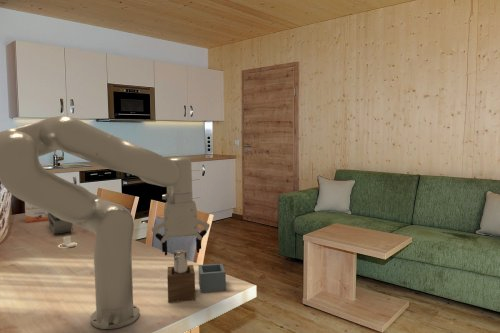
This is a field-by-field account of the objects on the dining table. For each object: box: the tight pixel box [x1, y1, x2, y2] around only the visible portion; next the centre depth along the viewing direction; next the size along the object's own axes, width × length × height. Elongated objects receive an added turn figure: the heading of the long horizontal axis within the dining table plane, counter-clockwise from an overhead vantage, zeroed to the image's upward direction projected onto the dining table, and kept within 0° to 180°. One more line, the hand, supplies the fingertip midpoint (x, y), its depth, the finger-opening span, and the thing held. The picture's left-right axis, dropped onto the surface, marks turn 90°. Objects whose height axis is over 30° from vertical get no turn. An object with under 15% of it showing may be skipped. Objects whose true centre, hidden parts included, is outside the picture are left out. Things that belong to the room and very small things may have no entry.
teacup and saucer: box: [57, 235, 78, 249], centre depth 168 cm, size 9×8×4 cm
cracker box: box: [24, 202, 49, 223], centre depth 213 cm, size 14×6×21 cm, turn 119°
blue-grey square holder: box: [198, 263, 227, 293], centre depth 124 cm, size 8×8×6 cm
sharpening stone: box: [47, 213, 74, 235], centre depth 192 cm, size 25×8×11 cm, turn 35°
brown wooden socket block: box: [167, 264, 196, 303], centre depth 117 cm, size 8×8×8 cm
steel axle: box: [173, 249, 188, 274], centre depth 117 cm, size 4×4×14 cm
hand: (182, 252), depth 117 cm, fingers open, 9 cm apart
